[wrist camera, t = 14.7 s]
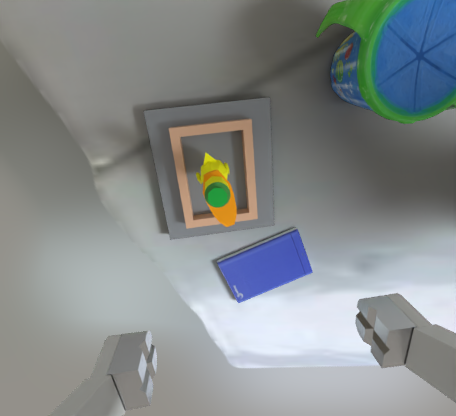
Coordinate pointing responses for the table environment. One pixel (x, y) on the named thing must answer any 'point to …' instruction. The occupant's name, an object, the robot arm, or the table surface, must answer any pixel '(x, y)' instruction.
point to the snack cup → (396, 56)
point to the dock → (220, 150)
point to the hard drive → (265, 265)
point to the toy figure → (218, 190)
